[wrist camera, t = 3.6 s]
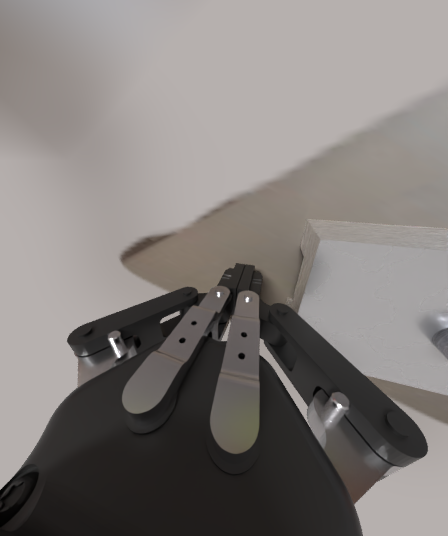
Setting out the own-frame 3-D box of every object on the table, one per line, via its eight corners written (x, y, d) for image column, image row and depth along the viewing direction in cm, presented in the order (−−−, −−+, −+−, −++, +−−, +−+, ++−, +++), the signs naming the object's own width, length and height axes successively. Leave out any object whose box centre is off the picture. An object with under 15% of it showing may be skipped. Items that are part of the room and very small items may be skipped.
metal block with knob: (495, 231, 10) (703, 284, 5) (408, 337, 14) (474, 418, 9) (306, 218, 12) (325, 246, 7) (283, 313, 16) (285, 368, 12)
